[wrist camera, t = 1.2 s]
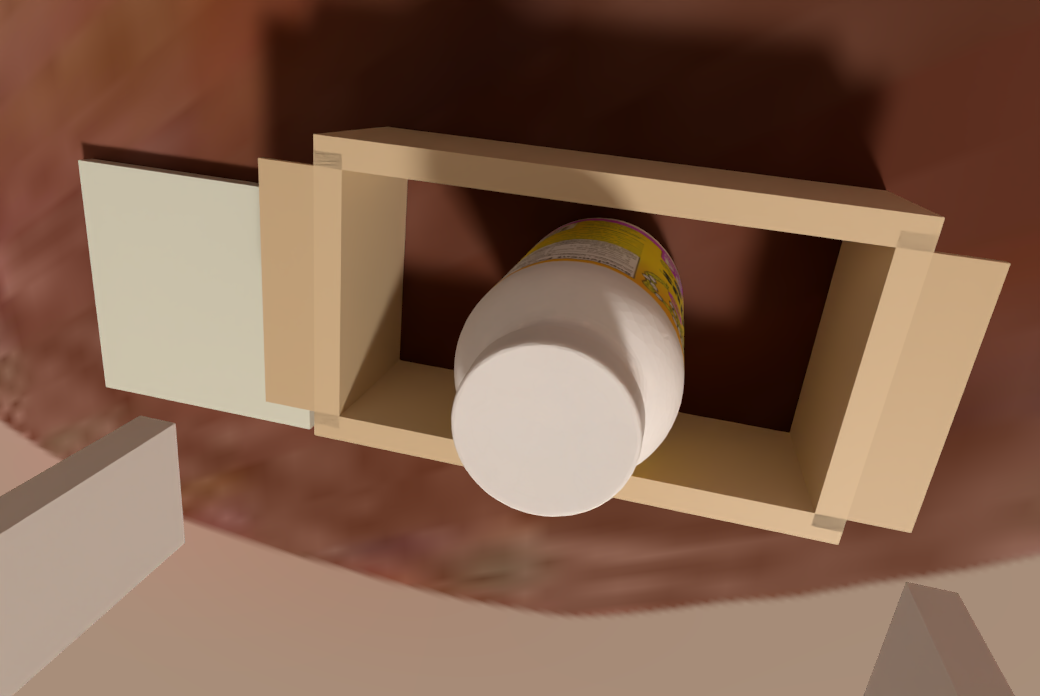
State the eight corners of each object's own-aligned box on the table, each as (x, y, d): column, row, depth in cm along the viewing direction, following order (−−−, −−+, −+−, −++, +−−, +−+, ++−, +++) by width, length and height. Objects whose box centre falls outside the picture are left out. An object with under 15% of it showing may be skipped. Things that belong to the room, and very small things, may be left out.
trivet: (92, 158, 31) (78, 160, 31) (317, 191, 29) (308, 194, 29) (118, 380, 35) (106, 386, 35) (317, 421, 33) (309, 429, 33)
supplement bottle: (665, 385, 29) (653, 583, 17) (512, 354, 30) (402, 521, 18) (700, 227, 27) (715, 332, 15) (532, 200, 28) (420, 277, 16)
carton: (340, 120, 28) (256, 126, 23) (946, 198, 24) (1023, 227, 19) (337, 368, 32) (266, 424, 27) (859, 468, 28) (901, 557, 23)
